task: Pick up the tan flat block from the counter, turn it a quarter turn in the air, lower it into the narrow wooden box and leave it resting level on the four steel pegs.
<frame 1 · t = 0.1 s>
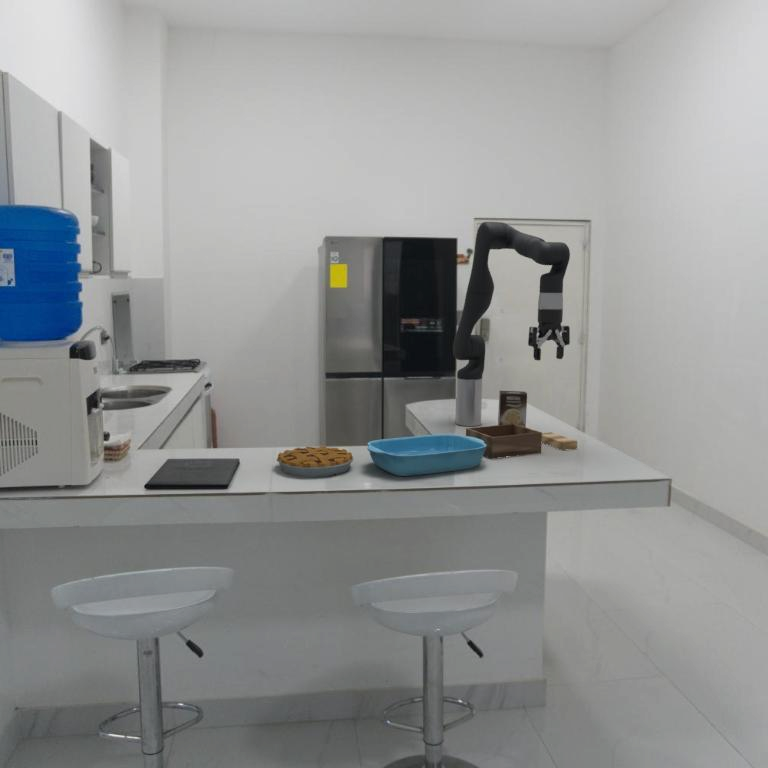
hand: (548, 359, 232), 29 cm above the worktop, tool pointing down, fingers open, 8 cm apart
wooden box: (502, 450, 235), on the worktop
casserole dish: (426, 467, 217), on the worktop
tan flat block: (556, 446, 243), on the worktop
coffee box: (511, 439, 252), on the worktop
pie: (315, 469, 213), on the worktop
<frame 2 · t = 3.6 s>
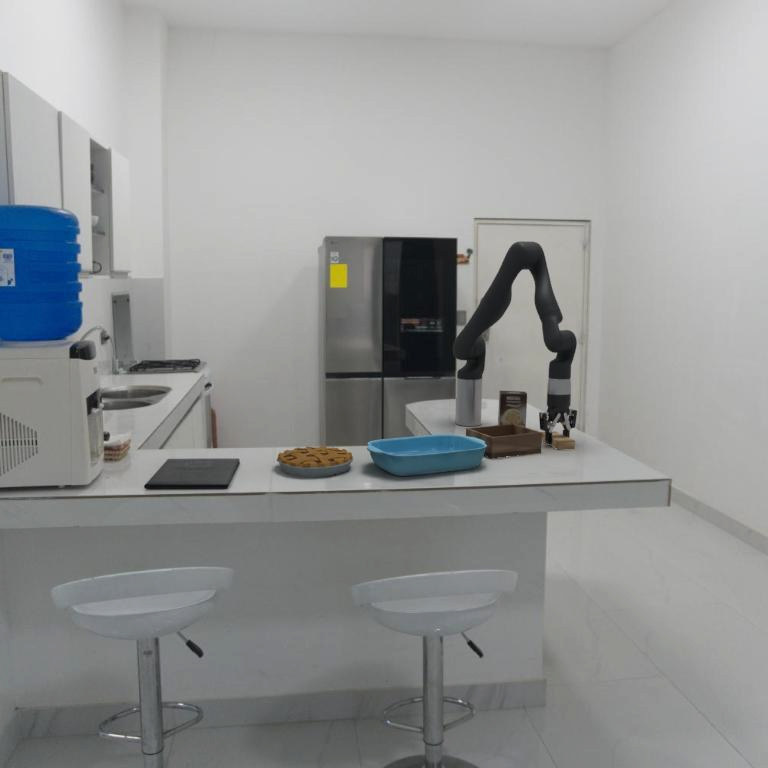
hand: (557, 442, 243), 1 cm above the worktop, tool pointing down, fingers closed on tan flat block, 6 cm apart
tan flat block: (557, 445, 243), on the worktop, touching gripper
everything else where it was.
when the fingers open (6 cm above the worktop, at t = 11.2 s): tan flat block stays where it is, resting on wooden box.
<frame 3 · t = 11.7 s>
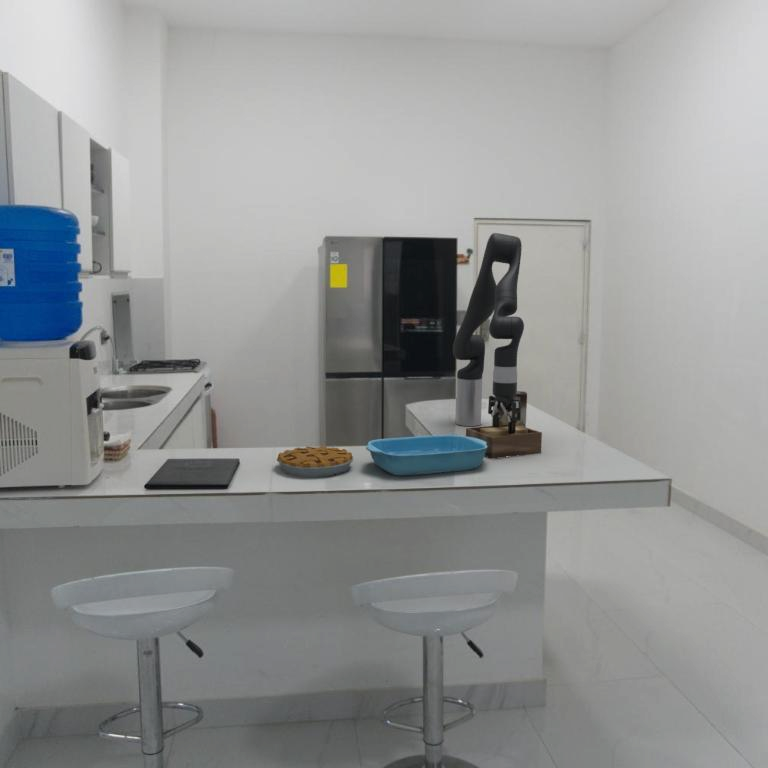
hand: (503, 431, 234), 6 cm above the worktop, tool pointing down, fingers open, 8 cm apart
tan flat block: (503, 438, 235), point 4 cm above the worktop, touching wooden box
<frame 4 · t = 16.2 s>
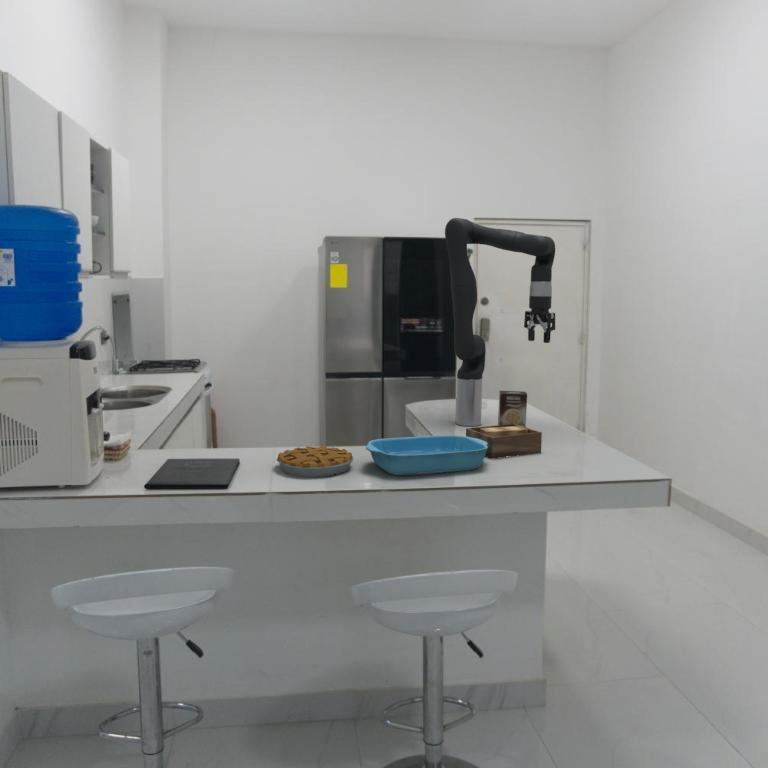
hand: (538, 341, 258), 32 cm above the worktop, tool pointing down, fingers open, 8 cm apart
at the end: tan flat block 0.1 cm off-centre on the wooden box, point 4.0 cm above the wooden box's base; tan flat block tilted 0°; the gripper is holding nothing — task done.
